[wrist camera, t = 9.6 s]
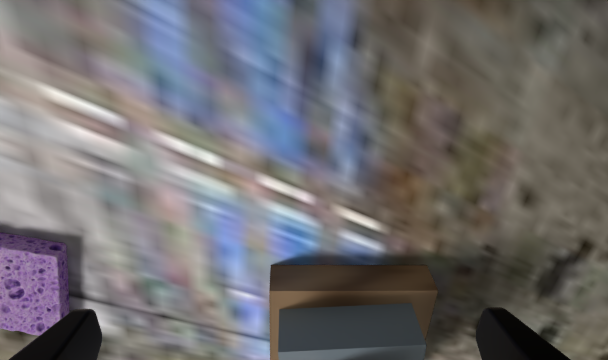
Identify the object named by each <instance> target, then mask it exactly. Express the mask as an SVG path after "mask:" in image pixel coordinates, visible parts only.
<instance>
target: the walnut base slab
mask: <svg viewBox="0 0 608 360" xmlns="http://www.w3.org/2000/svg"><path fill="white" fill-rule="evenodd" d="M437 294H438V289H437V287H436V285H435V282H434V280H433V278H432V276H431V274H430V271H429V269H428V267H427V265H271V272H270V360H279V357H278V335H279V309H298V308H319V307H340V306H361V305H381V304H402V303H412V306H413V309H414V311H415V314H416V317H417V320H418V323H419V325H420V328H421V331H422V334H423V336H424V339H425V340H426V336H427V332H428V328H429V324H430V320H431V317H432V313H433V309H434V305H435V301H436V298H437Z"/></svg>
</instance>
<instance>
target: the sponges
mask: <svg viewBox="0 0 608 360" xmlns="http://www.w3.org/2000/svg"><path fill="white" fill-rule="evenodd" d="M67 259H68V257H67V247H66V245H65V243H61V242H53V241H48V240H41V239H37V238H28V237H26V236H20V235H13V234H6V233H1V232H0V329H1V328H2V329H6V330H10V331H16V330H18V331H22V332H25V333H27V334H33V335H41V334H42V333H44V332H45V331H46V330H47V329H49V328H50V327H51V326H53V325H54V324H55V323H57V322H58V321H59V320H60V319H62V318H63V317H64V316H66V315H67V314H68V313H69V291H68V289H69V287H68V285H69V284H68V265H67Z"/></svg>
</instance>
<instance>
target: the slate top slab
mask: <svg viewBox="0 0 608 360" xmlns="http://www.w3.org/2000/svg"><path fill="white" fill-rule="evenodd" d="M425 351H426V342H425V339H424V336H423V334H422V331H421V328H420V325H419V323H418V320H417V317H416V314H415V311H414V309H413V306H412V303H402V304H381V305H361V306H340V307H319V308H298V309H279V335H278V357H279V360H424V356H425Z"/></svg>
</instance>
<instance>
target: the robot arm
mask: <svg viewBox="0 0 608 360" xmlns="http://www.w3.org/2000/svg"><path fill="white" fill-rule="evenodd" d="M476 341H477V345H478V348H479V351H480V355H481V358H482V360H570V359H569V358H568V357H567V356H565V355H564V354H563V353H561V352H560V351H559V350H558V349H556V348H555V347H554V346H552V345H551V344H550V343H548V342H547V341H546V340H545V339H543V338H542V337H541V336H539V335H538V334H537V333H536V332H534V331H533V330H532V329H530V328H529V327H528V326H527V325H525V324H524V323H523V322H521V321H520V320H519V319H517V318H516V317H515V316H514V315H512V314H511V313H510V312H508V311H507V310H506V309H504V308H500V307H488V308H485V309H484V310H483V313H482V315H481V318H480V321H479V324H478V327H477V330H476ZM101 343H102V332H101V329H100V326H99V323H98V319H97V316H96V313H95V311H94V310H92V309H75V310H73V311H71V312H69V313H68V314H67V315H66V316H64V317H63V318H62V319H60V320H59V321H58V322H57V323H55V324H54V325H53V326H51V327H50V328H49V329H47V330H46V331H45V332H44V333H42V334H41V335H40V336H38V337H37V338H36V339H35V340H33V341H32V342H31V343H29V344H28V345H27V346H26V347H24V348H23V349H22V350H20V351H19V352H18V353H17V354H15V355H14V356H13V357H11V358H10V359H9V360H97V357H98V353H99V350H100V347H101Z"/></svg>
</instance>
